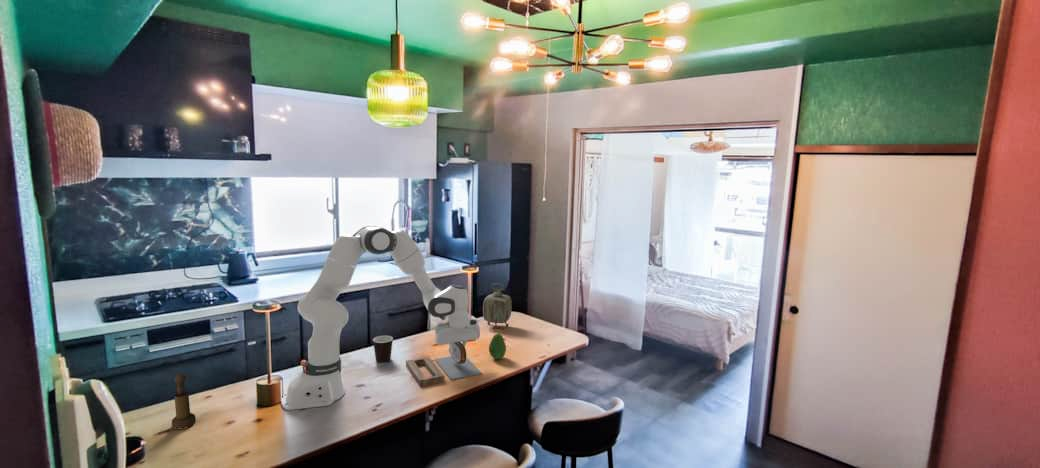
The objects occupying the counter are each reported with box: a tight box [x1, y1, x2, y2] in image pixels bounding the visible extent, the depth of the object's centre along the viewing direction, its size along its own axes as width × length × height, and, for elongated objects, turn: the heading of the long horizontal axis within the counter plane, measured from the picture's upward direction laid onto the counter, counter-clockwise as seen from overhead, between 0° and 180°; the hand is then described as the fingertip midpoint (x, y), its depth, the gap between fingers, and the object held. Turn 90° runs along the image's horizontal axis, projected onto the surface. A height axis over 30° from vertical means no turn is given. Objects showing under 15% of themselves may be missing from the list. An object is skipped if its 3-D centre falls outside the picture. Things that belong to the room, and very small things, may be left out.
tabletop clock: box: [482, 282, 513, 329], centre depth 262 cm, size 14×9×25 cm, turn 77°
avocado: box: [488, 333, 507, 360], centre depth 222 cm, size 8×8×12 cm
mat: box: [434, 355, 483, 381], centre depth 213 cm, size 14×22×1 cm, turn 28°
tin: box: [448, 342, 467, 364], centre depth 212 cm, size 15×3×8 cm, turn 29°
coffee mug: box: [372, 335, 394, 364], centre depth 219 cm, size 12×9×10 cm
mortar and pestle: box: [171, 373, 197, 430], centre depth 161 cm, size 7×6×18 cm
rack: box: [405, 356, 445, 387], centre depth 206 cm, size 10×21×2 cm, turn 28°
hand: (457, 350), depth 212 cm, fingers closed on tin, 2 cm apart
